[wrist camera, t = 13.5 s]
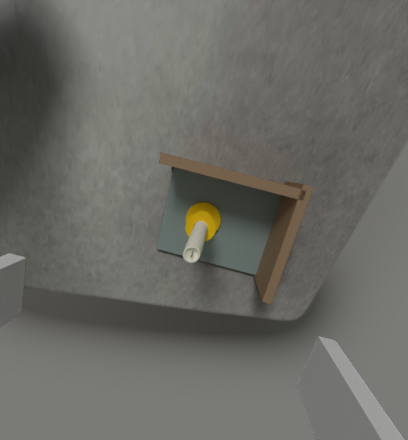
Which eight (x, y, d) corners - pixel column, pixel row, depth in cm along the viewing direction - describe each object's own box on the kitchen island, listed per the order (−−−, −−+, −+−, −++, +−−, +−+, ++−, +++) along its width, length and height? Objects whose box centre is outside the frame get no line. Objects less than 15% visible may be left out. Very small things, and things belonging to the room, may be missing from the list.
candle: (216, 198, 33) (213, 219, 17) (224, 231, 34) (228, 279, 18) (182, 206, 33) (151, 234, 18) (191, 239, 34) (168, 292, 19)
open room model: (153, 250, 36) (137, 268, 29) (174, 152, 32) (162, 147, 25) (261, 278, 35) (271, 304, 29) (293, 183, 32) (313, 186, 25)
